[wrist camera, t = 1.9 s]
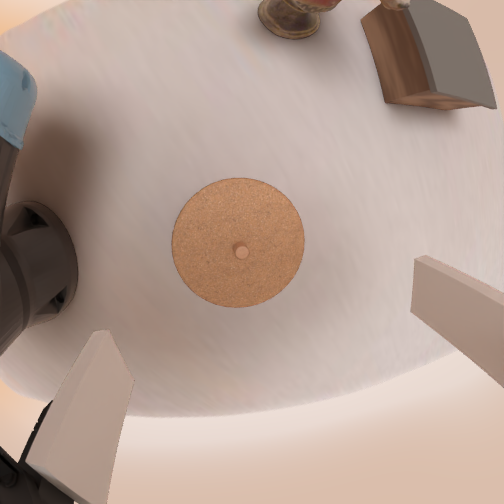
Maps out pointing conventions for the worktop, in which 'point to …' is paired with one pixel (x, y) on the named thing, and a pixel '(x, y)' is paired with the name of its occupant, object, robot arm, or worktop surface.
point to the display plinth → (428, 57)
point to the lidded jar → (238, 242)
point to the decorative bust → (304, 15)
